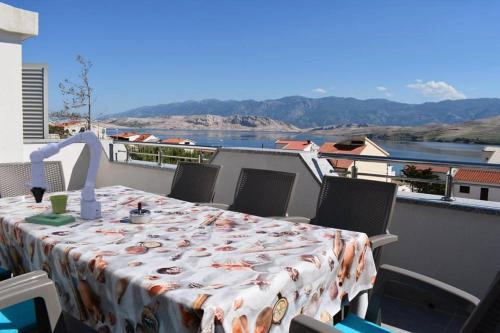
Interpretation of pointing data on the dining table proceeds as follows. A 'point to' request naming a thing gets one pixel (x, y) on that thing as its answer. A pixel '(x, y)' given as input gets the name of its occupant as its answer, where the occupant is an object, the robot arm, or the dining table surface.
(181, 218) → the dining table surface
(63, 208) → the plant pot
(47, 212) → the ball
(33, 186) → the robot arm
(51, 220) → the putting mat
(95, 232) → the dining table surface
